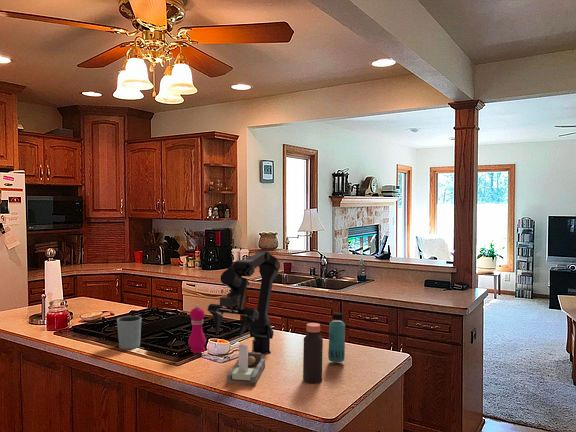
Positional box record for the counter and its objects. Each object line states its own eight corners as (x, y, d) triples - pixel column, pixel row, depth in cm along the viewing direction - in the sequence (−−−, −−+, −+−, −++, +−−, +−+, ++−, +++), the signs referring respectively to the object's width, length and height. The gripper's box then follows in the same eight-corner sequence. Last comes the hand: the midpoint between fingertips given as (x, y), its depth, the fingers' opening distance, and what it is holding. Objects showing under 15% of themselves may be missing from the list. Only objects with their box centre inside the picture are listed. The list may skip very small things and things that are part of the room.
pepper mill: (206, 349, 204) (207, 302, 203) (204, 355, 197) (204, 306, 196) (189, 349, 204) (190, 302, 203) (186, 355, 196) (187, 306, 195)
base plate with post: (239, 365, 185) (239, 351, 184) (265, 367, 183) (265, 353, 183) (226, 384, 166) (226, 368, 166) (255, 386, 165) (255, 370, 165)
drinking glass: (131, 351, 200) (131, 322, 200) (111, 348, 203) (111, 320, 203) (146, 344, 210) (146, 316, 209) (126, 341, 213) (126, 314, 212)
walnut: (254, 363, 183) (254, 354, 183) (256, 366, 180) (256, 357, 180) (244, 364, 182) (244, 354, 182) (246, 367, 179) (246, 358, 179)
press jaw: (236, 372, 172) (236, 342, 172) (253, 374, 172) (254, 343, 171) (232, 379, 167) (232, 347, 166) (250, 380, 166) (250, 348, 165)
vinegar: (308, 385, 167) (309, 328, 166) (299, 378, 173) (300, 323, 172) (325, 382, 170) (326, 326, 169) (316, 375, 176) (317, 321, 175)
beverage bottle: (335, 359, 194) (336, 310, 193) (348, 363, 189) (349, 313, 188) (324, 363, 189) (325, 312, 188) (337, 367, 184) (338, 315, 184)
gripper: (205, 284, 177) (194, 326, 170) (251, 288, 170) (242, 333, 164) (219, 293, 186) (209, 333, 180) (263, 297, 179) (254, 339, 173)
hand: (227, 334), depth 174 cm, fingers open, 9 cm apart
